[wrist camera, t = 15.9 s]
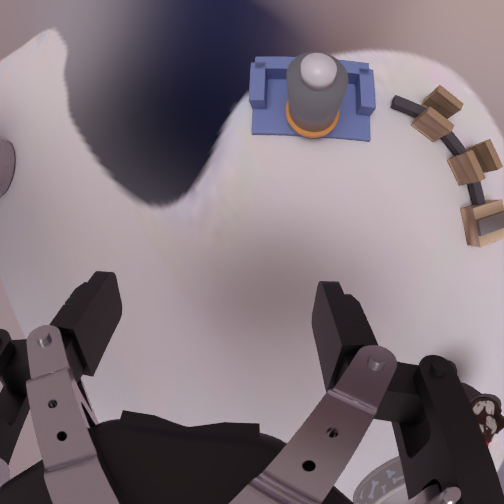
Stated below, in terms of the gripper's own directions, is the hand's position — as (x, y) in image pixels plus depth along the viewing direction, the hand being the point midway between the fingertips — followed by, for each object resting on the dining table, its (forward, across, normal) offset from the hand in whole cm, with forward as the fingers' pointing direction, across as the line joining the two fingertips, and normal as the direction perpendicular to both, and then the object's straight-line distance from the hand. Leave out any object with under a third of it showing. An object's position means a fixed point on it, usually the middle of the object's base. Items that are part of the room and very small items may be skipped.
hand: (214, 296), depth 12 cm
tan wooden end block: (+16, +26, -2) cm, 31 cm away
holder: (+23, +7, +8) cm, 25 cm away
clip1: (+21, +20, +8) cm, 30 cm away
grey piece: (+21, +7, +6) cm, 23 cm away
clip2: (+18, +24, +4) cm, 31 cm away
